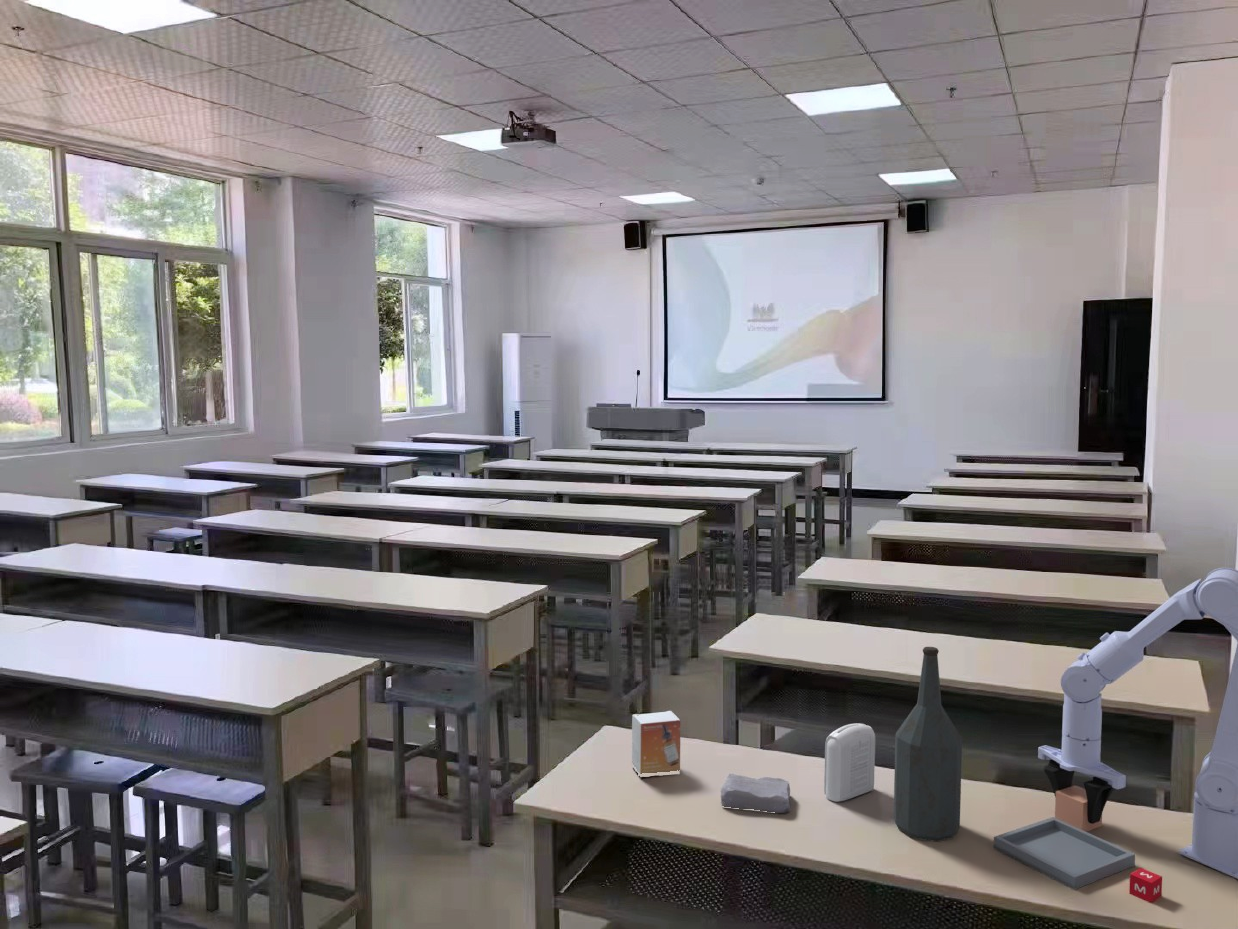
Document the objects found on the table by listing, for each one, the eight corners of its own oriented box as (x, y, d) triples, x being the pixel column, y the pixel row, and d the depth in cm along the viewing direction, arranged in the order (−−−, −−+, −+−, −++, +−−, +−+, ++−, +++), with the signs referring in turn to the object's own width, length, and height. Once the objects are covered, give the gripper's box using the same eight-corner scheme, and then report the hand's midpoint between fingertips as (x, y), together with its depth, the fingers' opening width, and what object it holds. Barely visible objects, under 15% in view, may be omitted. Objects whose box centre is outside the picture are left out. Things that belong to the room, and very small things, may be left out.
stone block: (724, 797, 171) (718, 810, 161) (726, 769, 171) (720, 781, 162) (791, 805, 168) (789, 819, 159) (792, 778, 169) (790, 790, 159)
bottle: (949, 848, 148) (954, 660, 145) (887, 832, 153) (890, 650, 150) (964, 822, 156) (969, 644, 154) (905, 808, 161) (908, 636, 159)
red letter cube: (1129, 894, 134) (1129, 874, 134) (1139, 887, 136) (1140, 867, 136) (1150, 903, 132) (1151, 883, 132) (1161, 897, 134) (1162, 876, 133)
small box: (639, 779, 174) (639, 724, 173) (631, 768, 179) (631, 713, 178) (681, 774, 176) (681, 719, 175) (671, 763, 181) (671, 709, 180)
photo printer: (858, 782, 172) (860, 716, 171) (877, 790, 169) (879, 723, 168) (820, 796, 166) (821, 728, 165) (839, 805, 163) (840, 735, 162)
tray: (1134, 865, 142) (1135, 854, 142) (1074, 889, 135) (1074, 877, 135) (1052, 827, 154) (1053, 817, 154) (993, 848, 148) (993, 836, 148)
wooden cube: (1101, 826, 155) (1102, 796, 154) (1082, 833, 152) (1083, 803, 152) (1074, 814, 159) (1075, 785, 159) (1054, 820, 157) (1055, 791, 156)
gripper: (1027, 725, 159) (1024, 803, 160) (1107, 754, 146) (1103, 839, 147) (1054, 717, 162) (1052, 794, 164) (1135, 746, 150) (1131, 828, 151)
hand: (1078, 815), depth 156 cm, fingers closed on wooden cube, 5 cm apart
